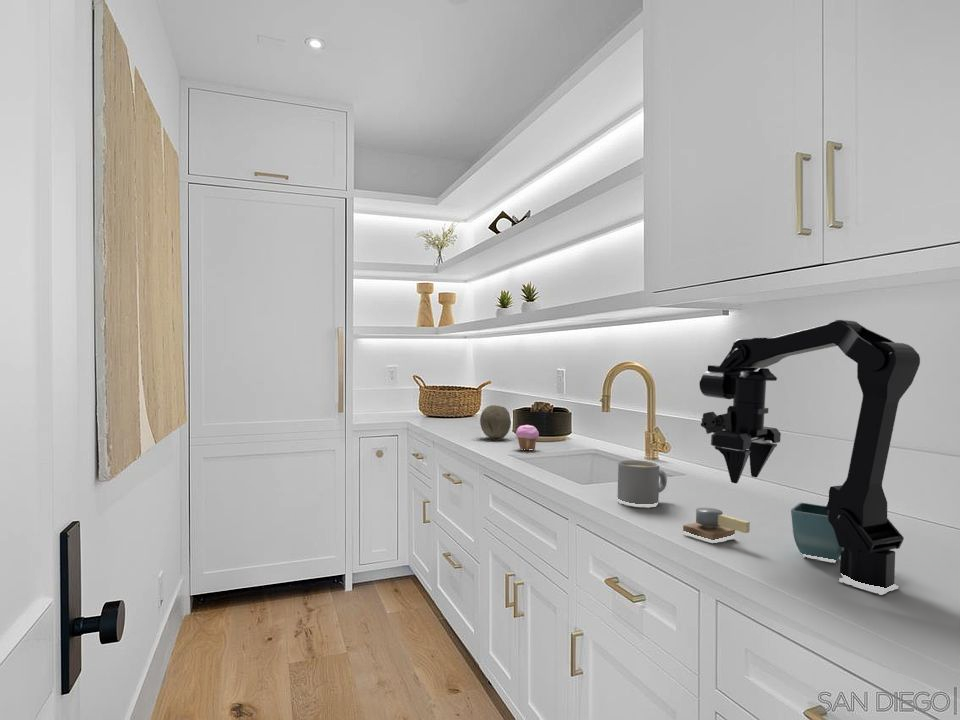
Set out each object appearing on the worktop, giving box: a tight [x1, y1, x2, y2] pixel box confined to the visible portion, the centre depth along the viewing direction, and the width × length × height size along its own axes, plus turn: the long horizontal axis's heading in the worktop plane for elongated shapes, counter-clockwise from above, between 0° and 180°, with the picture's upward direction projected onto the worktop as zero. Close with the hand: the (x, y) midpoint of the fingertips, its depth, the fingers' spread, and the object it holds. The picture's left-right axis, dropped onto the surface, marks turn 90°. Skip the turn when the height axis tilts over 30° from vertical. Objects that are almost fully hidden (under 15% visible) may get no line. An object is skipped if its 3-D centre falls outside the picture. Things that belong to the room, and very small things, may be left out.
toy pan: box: [695, 507, 751, 534], centre depth 114 cm, size 11×5×2 cm, turn 32°
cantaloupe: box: [479, 405, 512, 441], centre depth 252 cm, size 14×14×15 cm
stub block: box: [682, 522, 736, 540], centre depth 117 cm, size 7×7×3 cm
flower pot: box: [790, 502, 844, 561], centre depth 106 cm, size 9×9×9 cm
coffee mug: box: [616, 459, 668, 504], centre depth 144 cm, size 13×10×10 cm
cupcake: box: [515, 424, 540, 451], centre depth 224 cm, size 9×9×10 cm
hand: (744, 479), depth 114 cm, fingers open, 9 cm apart
